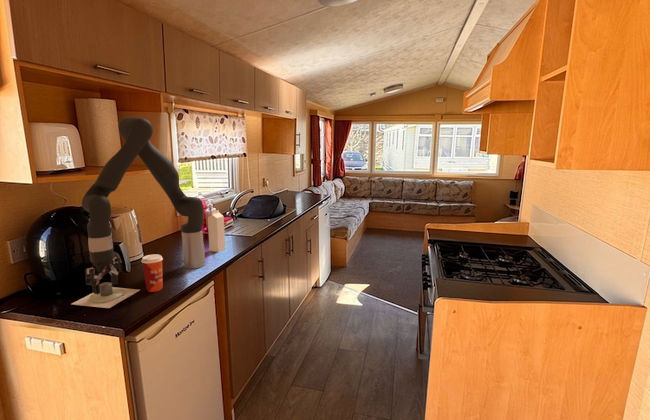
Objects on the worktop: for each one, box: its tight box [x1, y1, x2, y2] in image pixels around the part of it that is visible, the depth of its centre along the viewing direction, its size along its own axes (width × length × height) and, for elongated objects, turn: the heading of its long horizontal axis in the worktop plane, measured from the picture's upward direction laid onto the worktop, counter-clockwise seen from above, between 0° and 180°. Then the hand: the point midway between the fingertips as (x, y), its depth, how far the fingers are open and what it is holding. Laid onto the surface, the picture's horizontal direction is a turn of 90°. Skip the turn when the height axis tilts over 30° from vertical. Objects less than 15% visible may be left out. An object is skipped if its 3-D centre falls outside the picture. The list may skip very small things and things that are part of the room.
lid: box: [90, 281, 124, 303], centre depth 133 cm, size 11×11×5 cm
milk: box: [207, 209, 226, 253], centre depth 191 cm, size 6×6×22 cm
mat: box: [71, 286, 141, 309], centre depth 133 cm, size 16×16×1 cm
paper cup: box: [140, 253, 164, 293], centre depth 139 cm, size 8×8×14 cm
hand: (106, 289), depth 133 cm, fingers open, 8 cm apart
